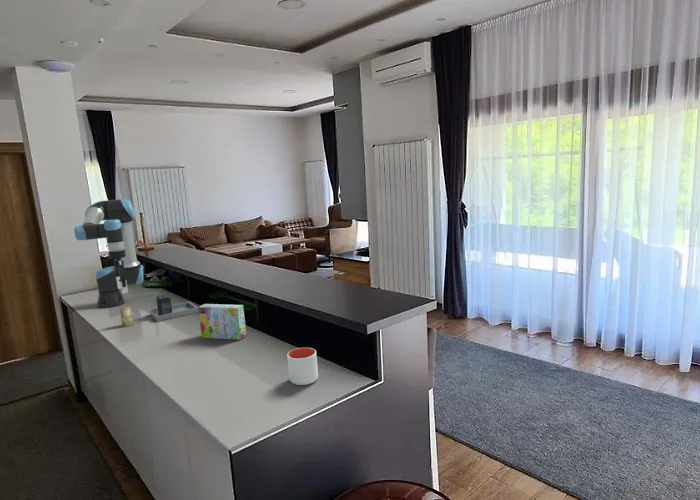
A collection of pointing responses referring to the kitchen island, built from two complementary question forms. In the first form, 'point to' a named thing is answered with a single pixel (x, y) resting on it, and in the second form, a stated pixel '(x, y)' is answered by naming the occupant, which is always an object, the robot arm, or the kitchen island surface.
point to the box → (164, 304)
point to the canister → (126, 317)
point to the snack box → (222, 321)
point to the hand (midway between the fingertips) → (123, 290)
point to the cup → (302, 366)
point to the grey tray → (175, 311)
